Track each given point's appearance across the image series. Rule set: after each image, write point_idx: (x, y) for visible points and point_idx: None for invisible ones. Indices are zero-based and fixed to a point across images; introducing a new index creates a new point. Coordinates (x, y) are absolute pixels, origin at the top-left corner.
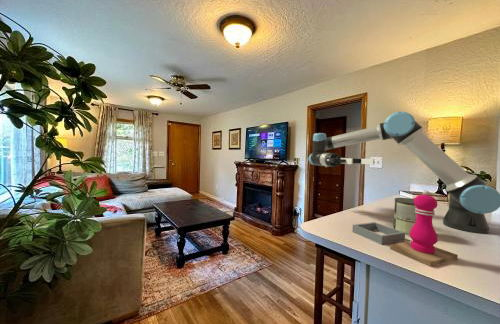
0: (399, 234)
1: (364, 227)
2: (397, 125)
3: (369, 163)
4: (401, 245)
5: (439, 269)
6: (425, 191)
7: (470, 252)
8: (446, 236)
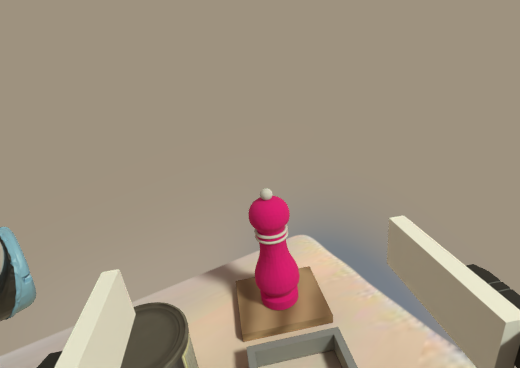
0: (271, 343)
1: None
2: None
3: (124, 339)
4: (308, 311)
5: None
6: (269, 189)
7: (174, 305)
8: None
